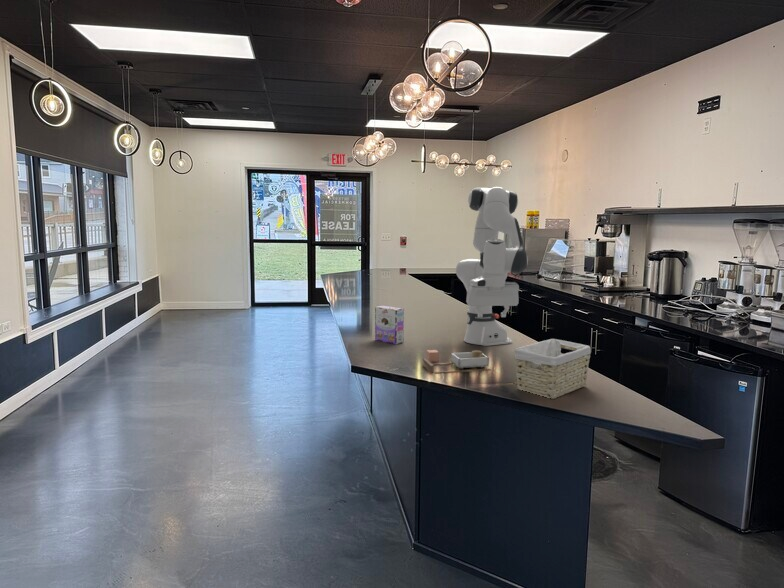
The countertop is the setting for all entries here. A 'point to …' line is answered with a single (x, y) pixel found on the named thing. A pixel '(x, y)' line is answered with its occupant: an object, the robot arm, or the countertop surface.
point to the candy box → (389, 324)
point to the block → (432, 355)
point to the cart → (469, 360)
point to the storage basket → (551, 367)
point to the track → (431, 366)
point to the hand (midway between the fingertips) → (491, 317)
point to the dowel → (476, 354)
